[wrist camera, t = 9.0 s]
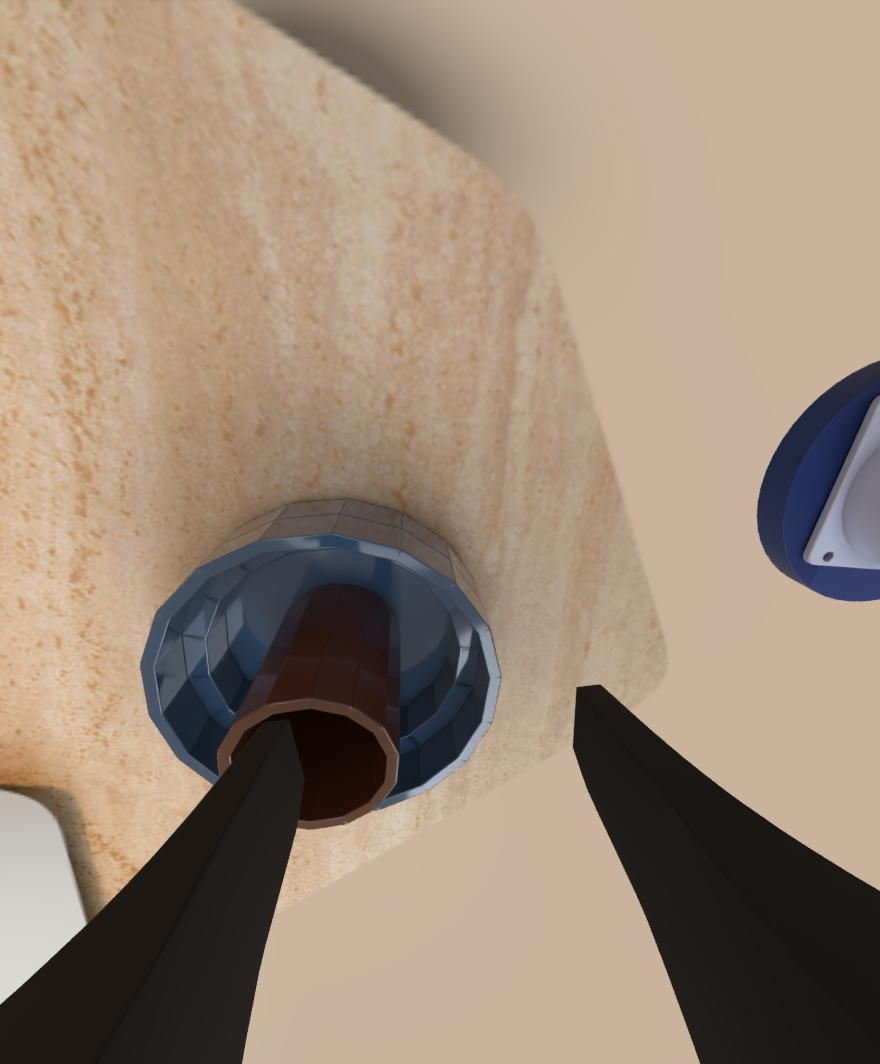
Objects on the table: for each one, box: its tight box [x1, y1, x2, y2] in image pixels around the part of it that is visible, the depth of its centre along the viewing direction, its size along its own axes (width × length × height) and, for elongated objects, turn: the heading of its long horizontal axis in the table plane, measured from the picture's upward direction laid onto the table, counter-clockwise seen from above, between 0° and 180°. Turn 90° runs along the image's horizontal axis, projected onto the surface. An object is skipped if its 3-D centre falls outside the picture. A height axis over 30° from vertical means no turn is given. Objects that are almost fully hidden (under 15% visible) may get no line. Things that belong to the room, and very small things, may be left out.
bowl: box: [140, 499, 501, 811], centre depth 18 cm, size 13×13×4 cm
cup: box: [217, 584, 401, 830], centre depth 16 cm, size 5×6×7 cm
